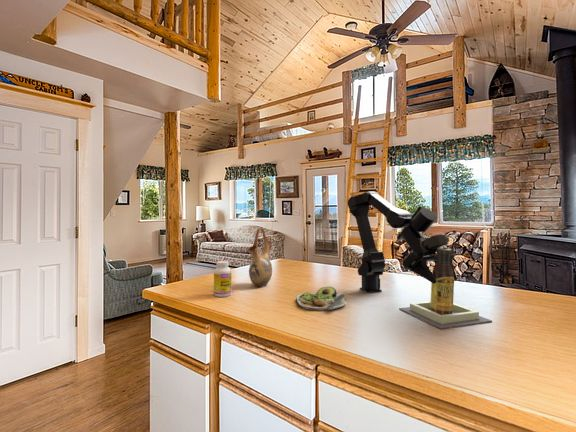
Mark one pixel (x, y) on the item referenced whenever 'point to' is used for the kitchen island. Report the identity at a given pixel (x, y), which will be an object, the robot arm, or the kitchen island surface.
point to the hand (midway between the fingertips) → (445, 281)
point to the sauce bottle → (442, 284)
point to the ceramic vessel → (260, 262)
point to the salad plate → (322, 299)
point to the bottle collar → (462, 314)
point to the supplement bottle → (222, 279)
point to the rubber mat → (446, 325)
